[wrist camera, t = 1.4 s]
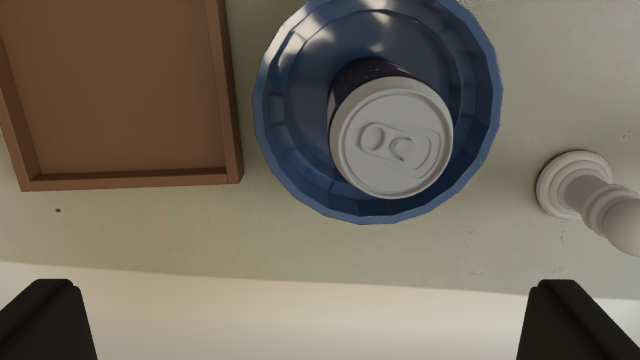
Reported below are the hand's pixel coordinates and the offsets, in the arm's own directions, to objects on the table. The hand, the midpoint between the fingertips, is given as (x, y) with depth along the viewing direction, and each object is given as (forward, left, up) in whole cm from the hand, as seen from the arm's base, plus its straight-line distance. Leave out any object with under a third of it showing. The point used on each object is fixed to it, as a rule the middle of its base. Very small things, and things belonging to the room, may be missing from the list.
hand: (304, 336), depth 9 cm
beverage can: (-3, -1, -22) cm, 23 cm away
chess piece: (-18, +6, -23) cm, 30 cm away
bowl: (-3, -1, -22) cm, 23 cm away
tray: (+14, -3, -22) cm, 26 cm away
